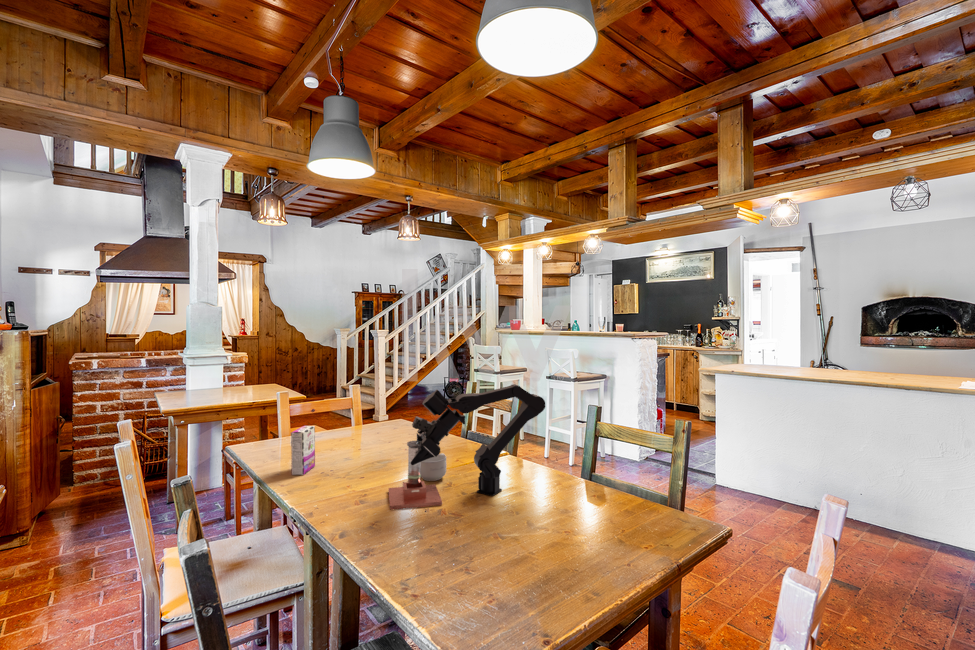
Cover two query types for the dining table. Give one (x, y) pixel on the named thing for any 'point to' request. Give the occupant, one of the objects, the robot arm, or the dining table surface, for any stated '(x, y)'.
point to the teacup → (433, 468)
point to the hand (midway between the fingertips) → (410, 460)
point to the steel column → (415, 470)
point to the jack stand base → (414, 496)
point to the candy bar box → (303, 450)
